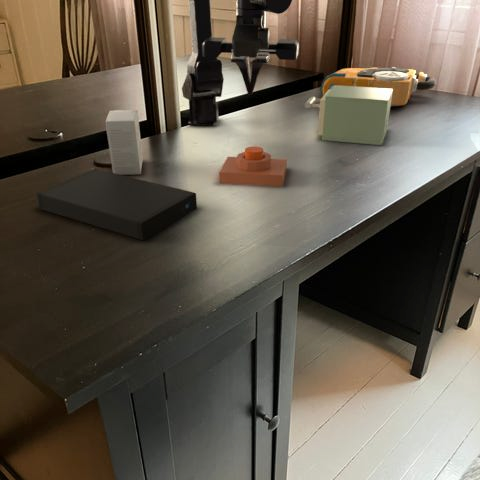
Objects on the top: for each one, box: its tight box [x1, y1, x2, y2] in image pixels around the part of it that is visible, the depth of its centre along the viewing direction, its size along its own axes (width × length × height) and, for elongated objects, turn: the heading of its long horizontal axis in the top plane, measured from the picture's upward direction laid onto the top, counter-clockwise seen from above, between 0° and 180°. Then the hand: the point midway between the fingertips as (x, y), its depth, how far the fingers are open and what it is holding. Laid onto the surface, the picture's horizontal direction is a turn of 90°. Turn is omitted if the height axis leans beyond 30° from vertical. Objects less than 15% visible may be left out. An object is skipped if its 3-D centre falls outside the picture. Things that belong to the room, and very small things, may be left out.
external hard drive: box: [36, 168, 198, 241], centre depth 91 cm, size 14×23×3 cm, turn 58°
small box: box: [104, 109, 144, 176], centre depth 106 cm, size 8×6×10 cm
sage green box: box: [321, 85, 393, 146], centre depth 123 cm, size 14×12×10 cm
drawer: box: [304, 90, 330, 136], centre depth 124 cm, size 16×10×8 cm, turn 72°
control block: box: [218, 151, 288, 187], centre depth 103 cm, size 12×9×4 cm
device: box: [320, 66, 437, 108], centre depth 152 cm, size 23×8×30 cm
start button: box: [244, 146, 265, 160], centre depth 102 cm, size 4×4×2 cm
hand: (250, 94), depth 111 cm, fingers closed
